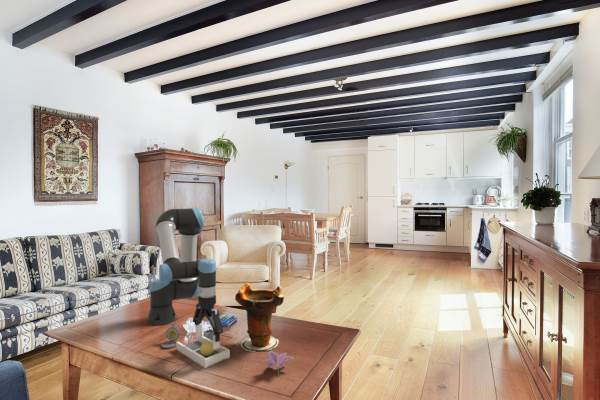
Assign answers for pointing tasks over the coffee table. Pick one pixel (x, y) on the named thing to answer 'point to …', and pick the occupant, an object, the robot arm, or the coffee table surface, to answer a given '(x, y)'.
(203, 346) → the ball
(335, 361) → the coffee table surface
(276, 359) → the lily
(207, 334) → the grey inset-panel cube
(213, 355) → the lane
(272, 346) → the decorative vase
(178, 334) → the pocket watch
